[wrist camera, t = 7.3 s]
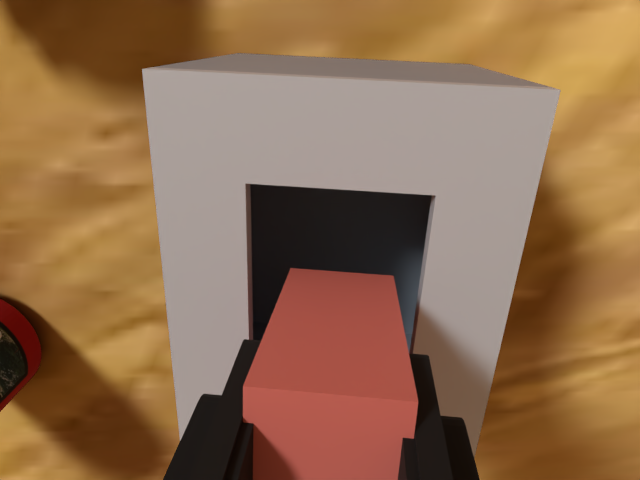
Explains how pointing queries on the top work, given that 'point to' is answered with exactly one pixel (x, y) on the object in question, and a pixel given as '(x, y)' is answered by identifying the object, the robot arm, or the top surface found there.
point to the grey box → (343, 202)
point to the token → (331, 381)
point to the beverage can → (16, 352)
